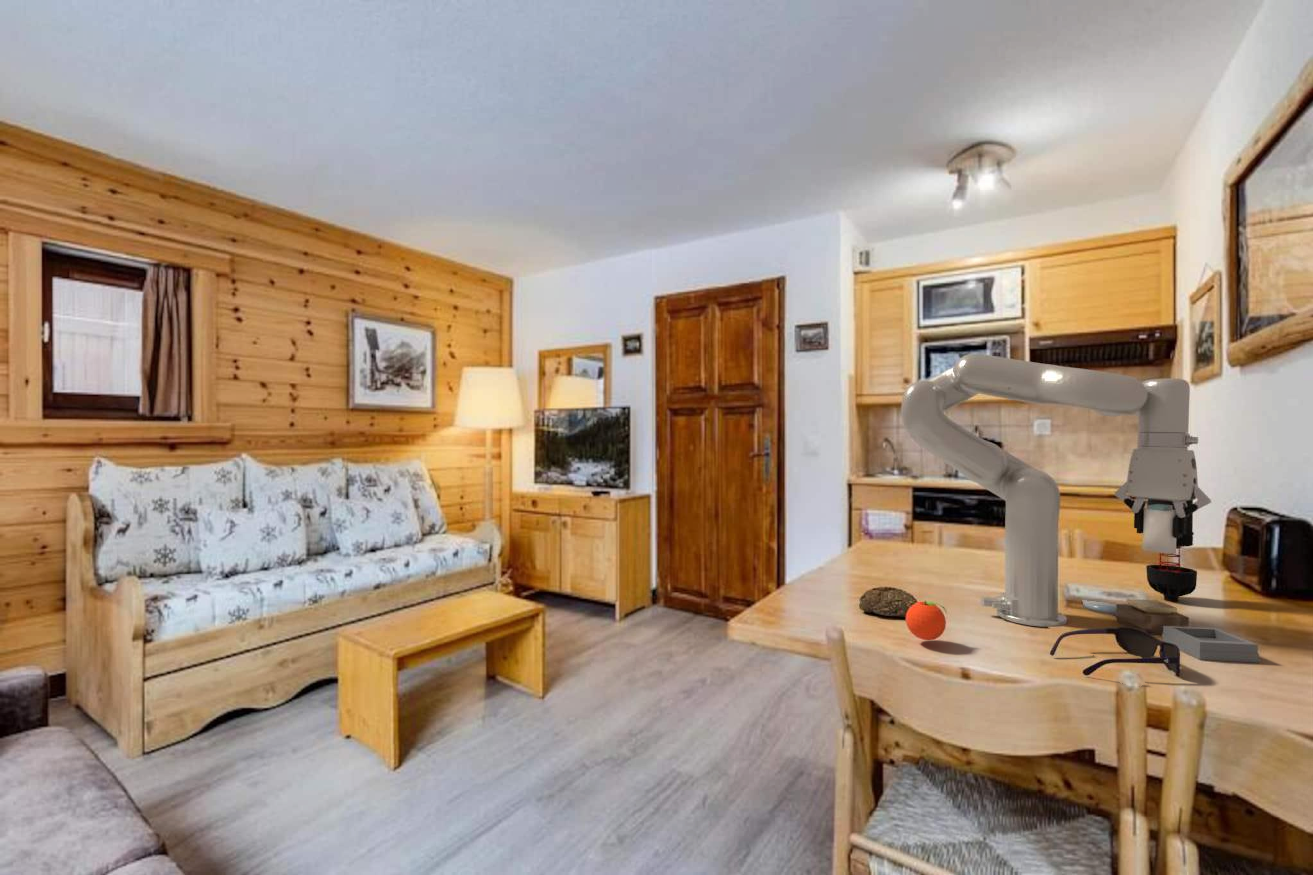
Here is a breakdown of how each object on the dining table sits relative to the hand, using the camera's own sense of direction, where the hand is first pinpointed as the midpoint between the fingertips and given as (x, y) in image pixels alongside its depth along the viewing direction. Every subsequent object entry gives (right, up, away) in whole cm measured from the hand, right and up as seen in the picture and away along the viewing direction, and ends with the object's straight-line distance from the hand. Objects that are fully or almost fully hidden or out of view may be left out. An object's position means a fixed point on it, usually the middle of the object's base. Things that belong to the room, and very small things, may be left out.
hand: (1159, 534), depth 116 cm
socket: (-1, -19, -11) cm, 22 cm away
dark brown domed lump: (-47, -20, +16) cm, 53 cm away
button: (0, -17, +2) cm, 18 cm away
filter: (+21, -19, +22) cm, 36 cm away
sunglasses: (-22, -20, -17) cm, 34 cm away
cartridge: (0, -3, 0) cm, 3 cm away
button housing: (0, -19, +2) cm, 19 cm away
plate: (+2, -19, +15) cm, 24 cm away
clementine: (-47, -19, -4) cm, 51 cm away
